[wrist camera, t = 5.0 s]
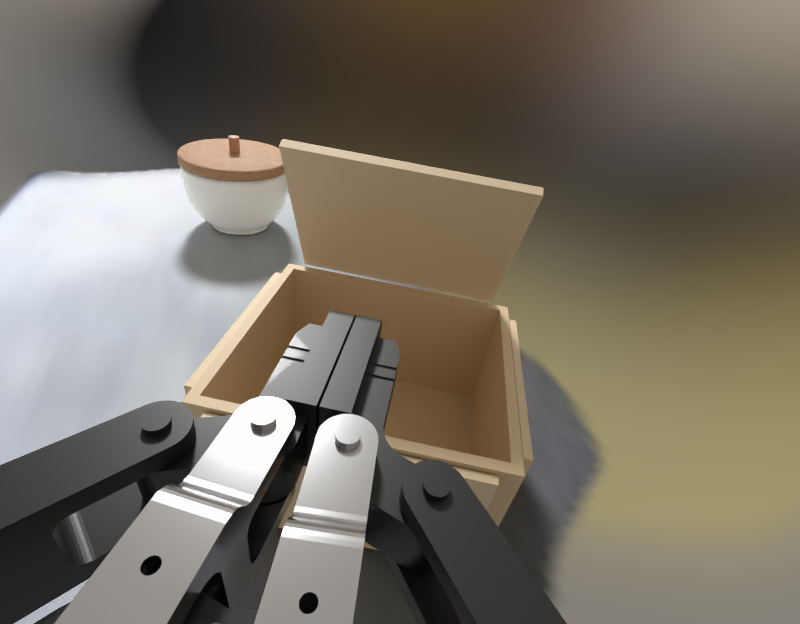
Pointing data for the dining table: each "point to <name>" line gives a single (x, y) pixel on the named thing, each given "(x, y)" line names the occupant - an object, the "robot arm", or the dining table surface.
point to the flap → (406, 219)
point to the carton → (415, 380)
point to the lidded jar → (234, 183)
